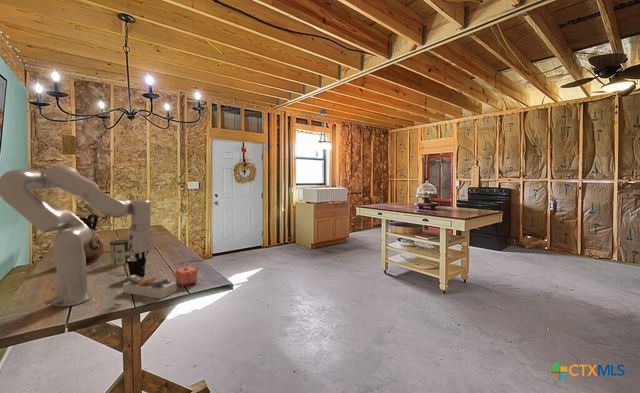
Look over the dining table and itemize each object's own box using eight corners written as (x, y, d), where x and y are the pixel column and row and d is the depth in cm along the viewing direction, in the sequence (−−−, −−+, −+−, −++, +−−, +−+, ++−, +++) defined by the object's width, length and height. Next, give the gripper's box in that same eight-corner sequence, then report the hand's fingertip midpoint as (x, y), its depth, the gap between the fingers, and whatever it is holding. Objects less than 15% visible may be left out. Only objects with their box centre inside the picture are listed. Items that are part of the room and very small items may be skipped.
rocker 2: (148, 282, 127) (147, 279, 127) (138, 285, 129) (137, 281, 129) (155, 279, 131) (155, 276, 131) (146, 281, 132) (145, 278, 132)
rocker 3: (160, 285, 125) (160, 281, 125) (150, 286, 127) (149, 282, 127) (168, 281, 129) (167, 278, 129) (157, 283, 130) (157, 279, 130)
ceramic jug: (91, 265, 169) (89, 216, 166) (66, 265, 169) (63, 216, 167) (112, 257, 186) (110, 212, 183) (89, 257, 186) (87, 212, 184)
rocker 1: (136, 284, 129) (136, 281, 129) (126, 280, 131) (126, 276, 130) (143, 281, 133) (144, 278, 133) (134, 277, 134) (134, 273, 134)
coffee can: (126, 260, 180) (125, 238, 179) (134, 263, 174) (133, 240, 173) (107, 264, 171) (106, 241, 170) (115, 267, 166) (114, 244, 165)
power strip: (161, 298, 124) (160, 288, 124) (115, 291, 132) (114, 281, 131) (176, 290, 133) (176, 281, 132) (132, 284, 140) (132, 275, 140)
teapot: (166, 284, 141) (165, 267, 140) (196, 276, 152) (196, 261, 151) (175, 290, 133) (174, 273, 132) (206, 282, 144) (205, 266, 143)
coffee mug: (137, 280, 145) (136, 261, 145) (123, 279, 147) (122, 260, 146) (155, 273, 157) (154, 255, 156) (141, 271, 158) (141, 254, 158)
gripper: (132, 230, 120) (132, 272, 121) (161, 225, 135) (160, 262, 136) (119, 228, 122) (118, 269, 123) (148, 224, 137) (148, 261, 138)
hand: (140, 266), depth 129 cm, fingers closed
